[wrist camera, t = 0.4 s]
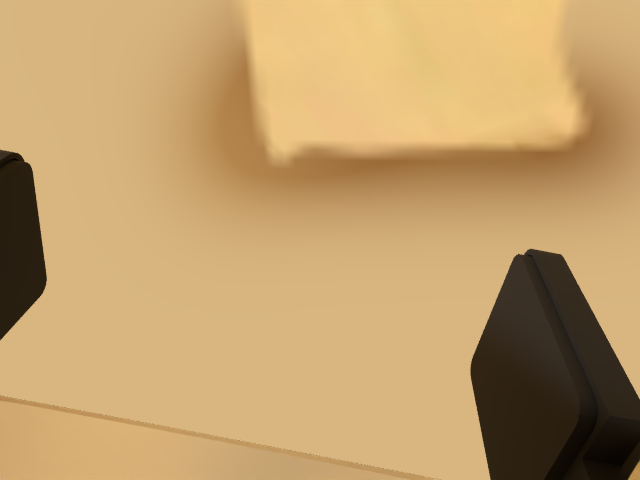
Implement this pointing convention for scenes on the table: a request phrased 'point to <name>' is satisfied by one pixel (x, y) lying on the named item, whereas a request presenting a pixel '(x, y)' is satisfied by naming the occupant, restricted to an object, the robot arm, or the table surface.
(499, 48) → the table surface
